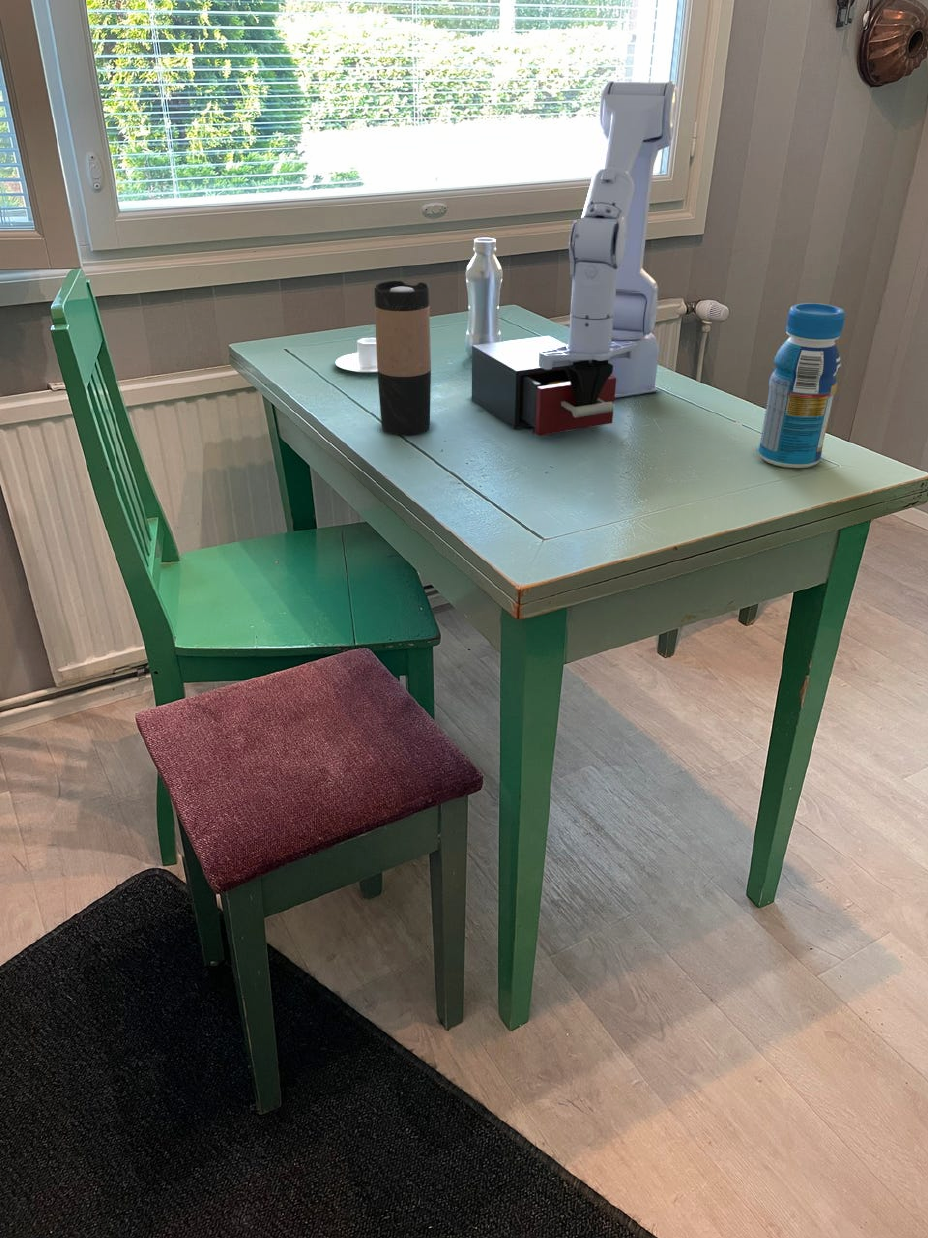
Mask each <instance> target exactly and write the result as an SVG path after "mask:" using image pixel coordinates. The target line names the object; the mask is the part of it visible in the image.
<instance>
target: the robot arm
mask: <svg viewBox="0 0 928 1238" xmlns="http://www.w3.org/2000/svg"><path fill="white" fill-rule="evenodd" d="M677 105H678V87H677V86H676V84H675V82H674V81H672V80H671V81H670V80H669V81H668V82H658V81H657V82H655V81H654V82H650V81H615V80H614V79H611V80H608V81H607V82H606V83H605V84H604V86H603V88H602V91H601V95H600V101H599V124H600V127H601V129H602V131H603V132H602V133H603V135H604V136H605V139H606V141H607V145H606V151H605V157H604V164H603V168H602V169H599V170H598V171H596V172H595V174H594V175H593V176H592V178H591V181H590V185H589V188H588V192H587V196H586V199H585V202H584V206H583V209H582V213H581V216H580V218H579V219H578V220H574V222H573V223H572V226H571V229H570V234H569V240H568V241H569V242H568V254H569V255H568V257H569V278H570V279H571V280H572V283H571V298H570V299H571V300H570V314H569V327H568V328H569V329H568V343H567V344H566V346H563V347H559V348H556V349H552V350H549V351H544V352H539V367H541V368H543V369H545V370H549V369H552V367H560V366H564V369H565V371H566V373H567V376H568V378H569V380H570V383H571V386H572V389H573V393H574V398H575V403H576V407H579V406H586V405H592V404H596V402H597V399H598V397H599V394H600V392H601V390H602V388H603V386H604V384H605V382H606V381H607V379H608V378H609V376H614V377H616V388H615V399H617V398H623V397H624V398H625V397H630V396H637V395H643V394H648V393H655V392H658V388H657V387H656V380H657V372H658V363H659V355H660V354H659V353H660V351H659V348H660V347H659V343H658V340H657V337H656V336H655V335H654V334H653V333H652V332H654V328H655V325H656V320H657V316H658V306H659V305H658V303H659V302H658V301H659V300H658V294H659V286H658V283H657V281H656V280H655V279H654V278H653V277H652V276H651V275H650V274H649V273H647V272H646V271H645V270H644V268H643V267H644V256H645V246H646V238H647V231H648V222H649V221H648V219H649V211H650V202H651V194H652V183H653V175H654V166H655V162H656V160H657V157H658V154H659V151H661V150H664V149H666V148H669V147H670V146H671V142H672V140H673V137H674V132H675V131H674V129H675V121H676V113H677ZM589 416H591V415H589ZM584 417H585V416H584Z"/></svg>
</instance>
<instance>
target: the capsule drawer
mask: <svg viewBox="0 0 928 1238" xmlns="http://www.w3.org/2000/svg"><path fill="white" fill-rule="evenodd" d="M556 381H564V382H566V383H559V384H552V385H547V384H548V383H551V382H556ZM615 388H616V377H614V376H609V378H608V379H607V381H606V382H605V384H604V386H603V388H602V390H601V392H600V394H599V397H598V399H597V402H596V404H592V405H586V406H579V407H576V403H575V398H574V393H573V389H572V386H571V383H570V380H569V378H568V376H567V373H566V371H565V370H558V371H551V372H544V373H537V374H530V375H523V376H521V390H520V417H519V418H521V419H522V420H524V421H525V422H527V423H528V424H530V425H531V426H530V427H532V428H534V434H535V435H537V436H538V437H541V436H545V435H552V434H558V433H564V432H569V431H575V430H581V429H586V428H588V429H589V428H592V427H599V426H605V425H611V424H613V419H614V411H615V399H616V398H615ZM589 415H591V416H589ZM584 416H585V417H584Z"/></svg>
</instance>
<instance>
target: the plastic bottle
mask: <svg viewBox="0 0 928 1238" xmlns="http://www.w3.org/2000/svg"><path fill="white" fill-rule="evenodd" d="M496 245H497V244H496V239H495V238H491V237H477V238H475V239H474V240H473V249H472V250H473V252H474V256H473V257H472V258H471V259H470V261H469V262H468V264H467V266H466V268H465V269H466V270H465V281H466V282H465V283H466V290H467V301H468V317H467V327H466V328H467V330H466V334H465V341H464V347H465V352H466V354H467V356H468V357H469V358H471V359H472V345H479V344H487V343H495V342H502V336H501V331H500V329H501V328H500V316H499V315H500V313H499V312H500V306H499V305H500V299H501V298H500V296H501V289H502V282H503V275H504V272H503V268H502V265H501V263H500V262H499V260H498V259H497V257H496V255H495V253H496V252H497V248H496Z"/></svg>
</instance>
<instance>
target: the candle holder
mask: <svg viewBox="0 0 928 1238" xmlns="http://www.w3.org/2000/svg"><path fill="white" fill-rule="evenodd" d="M356 345H357V346H356V348H357V352H353V353H349V354H345V355H342V356H340V357H338V358H337V359H336V360H335V365H336V366H337V367H338V368H340V369H342V370H345V371H349V372H350V371H351V372H354V373H361V374H378V373H377V371H378V370H377V349H376V337H363V338H360V339H358V340H357V341H356Z"/></svg>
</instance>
